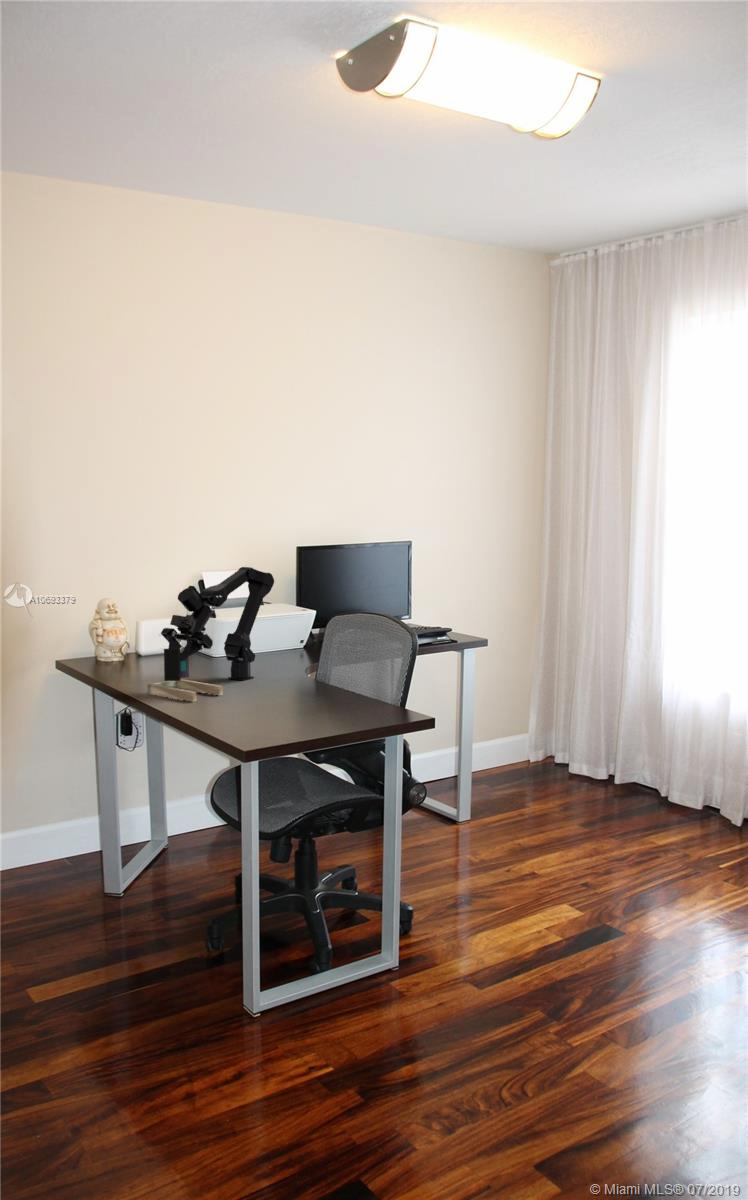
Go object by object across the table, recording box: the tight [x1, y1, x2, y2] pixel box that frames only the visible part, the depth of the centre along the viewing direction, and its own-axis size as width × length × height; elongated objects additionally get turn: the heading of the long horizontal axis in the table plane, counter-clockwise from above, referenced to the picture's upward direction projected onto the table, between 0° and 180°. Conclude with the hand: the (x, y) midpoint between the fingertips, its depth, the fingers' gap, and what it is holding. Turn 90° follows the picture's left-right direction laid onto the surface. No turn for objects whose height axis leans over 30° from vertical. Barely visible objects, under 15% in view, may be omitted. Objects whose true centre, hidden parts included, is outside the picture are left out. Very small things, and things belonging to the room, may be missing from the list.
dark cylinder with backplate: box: [163, 648, 190, 681], centre depth 312 cm, size 8×6×10 cm
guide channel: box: [146, 678, 224, 703], centre depth 311 cm, size 13×20×3 cm, turn 55°
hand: (173, 659), depth 311 cm, fingers closed on dark cylinder with backplate, 5 cm apart
